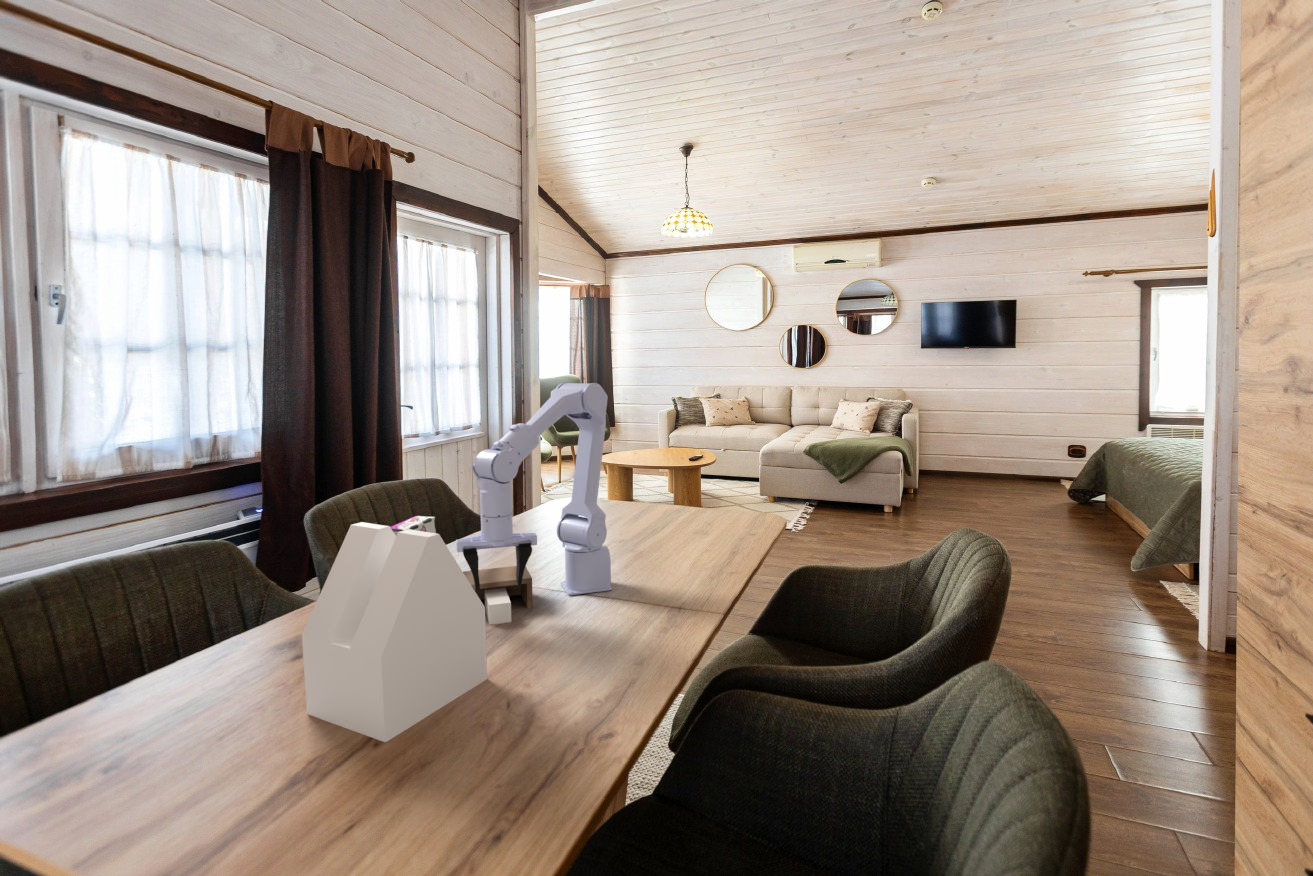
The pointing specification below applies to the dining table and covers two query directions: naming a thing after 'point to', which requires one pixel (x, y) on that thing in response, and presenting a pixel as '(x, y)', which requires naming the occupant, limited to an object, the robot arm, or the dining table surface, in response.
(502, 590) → the block
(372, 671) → the white tapered slotted holder
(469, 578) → the cubby
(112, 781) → the dining table surface
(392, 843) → the dining table surface
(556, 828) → the dining table surface
